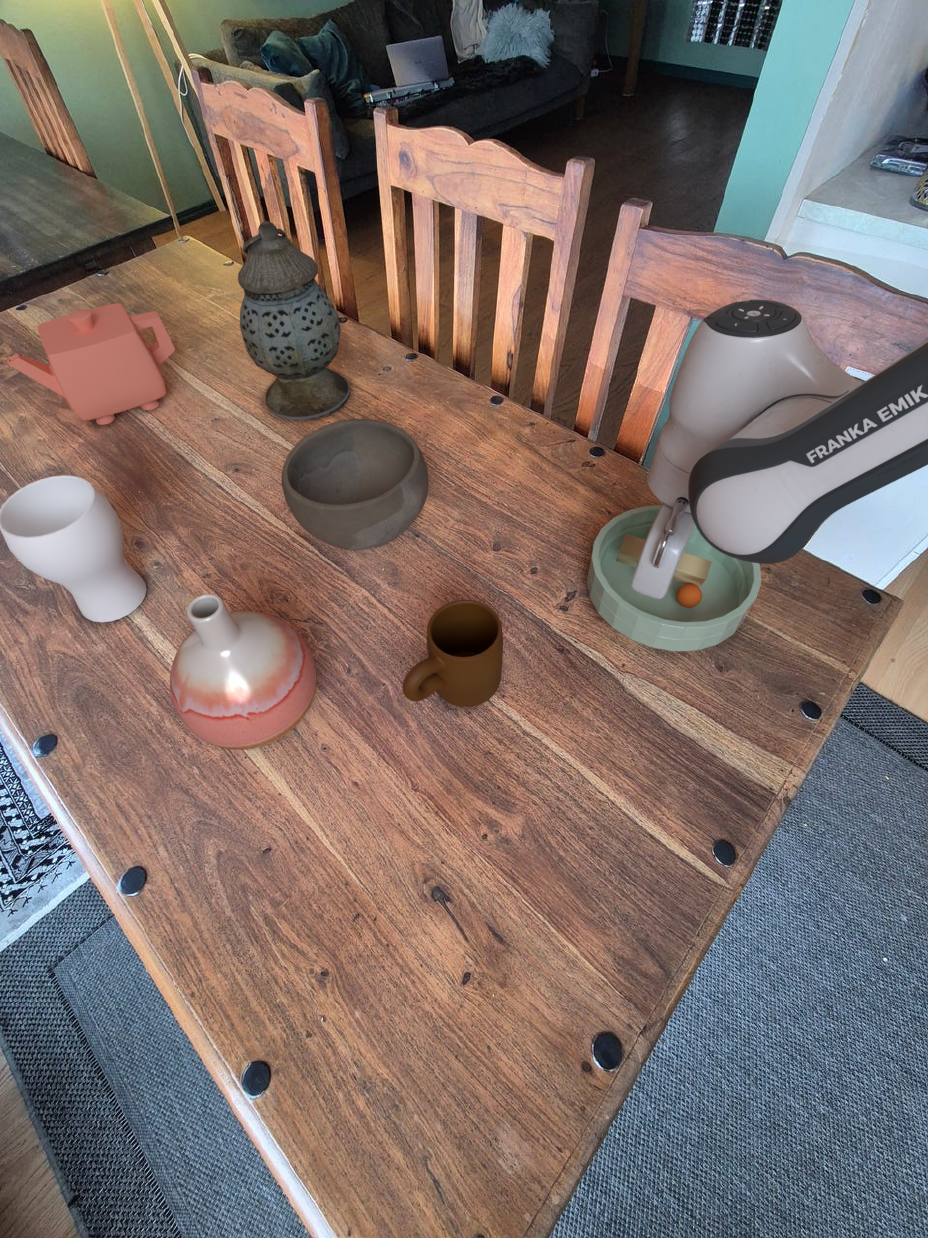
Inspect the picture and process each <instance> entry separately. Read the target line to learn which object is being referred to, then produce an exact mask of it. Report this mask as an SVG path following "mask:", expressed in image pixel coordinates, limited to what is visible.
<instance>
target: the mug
mask: <svg viewBox="0 0 928 1238" xmlns="http://www.w3.org/2000/svg"><path fill="white" fill-rule="evenodd" d="M503 634H504V633H503V625H502V621H501V618H500V617H499V616H498V614H497V613H496V612H495V611H494V609H492V608H491V607H490V606H489V605H487V604H485V603H483V602H480V601H478V600H473V599H457V600H452V601H450V602H447V603H445V604H443V605H442V606H440V607H438V608H437V610H435V611H434V613H433V614H432V615H431V616H430V618H429V620H428V623H427V627H426V648H427V656H428V657H426V658H424V659H422V660H420V661H418V662H417V663H416V664H414V665H413V666H412V667H411V668H410V669H409V671H408V672H407V673H406V675H405V676H404V679H403V682H402V685H401V687H402V689H401V690H402V694H403V696H404V697H405V698H406V699H407V700H408V701H411V702H421V701H423V700H426V699H427V698H429V697H430V696H432V695H433V694H434V693H437V695H438V697H440V698H441V699H442V700H443V701H445V702H446V703H448V704H450V705H453V706H456V707H460V708H471V707H476V706H477V707H478V706H480V705H482V704H484V703H486V702H488V701H489V700H490V699H491V698H492V697H493V696H494V695H495V694H496V693H497V691H498V689H499V687H500V684H501V680H502V672H503V656H504V654H503V653H504V635H503Z"/></svg>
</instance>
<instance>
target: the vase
mask: <svg viewBox="0 0 928 1238" xmlns="http://www.w3.org/2000/svg"><path fill="white" fill-rule="evenodd" d="M186 615H187V618H188V619H189V622H190V624H191V625H192V627H193V630H192V631H191V632H190V633H189V634H188V635H187V636H186V638H185V639H184V640H183V642H182V643H181V644H180V646H179V648H178V650H176V651H177V652H176V653H175V655H174V658H173V661H172V664H171V667H170V673H169V691H170V696H171V700H172V704H173V706H174V709H175V710H176V714H177V716H178V717H179V719H180V721H181V722H182V723H183V724H184V726H185V727H186V728H187V729H188V730H189V731H190V732H191V733H192V734H193V735H194V736H195V737H196V738H198V739H200V740H201V741H203V742H205V743H206V744H209V745H211V746H214V747H216V748H220V749H225V750H232V751H245V750H254V749H258V748H262V747H265V746H267V745H270V744H273V743H274V742H277V741H278V740H280V739H282V738H284V737H285V736H286V735H287V734H289V733H291V732H292V731H293V730H294V729H295V728H296V727H297V726H298V725H299V724H300V723H301V721H302V720H303V719H304V718H305V716H306V715H307V713H308V711H309V709H310V708H311V706H312V703H313V701H314V698H315V694H316V690H317V684H318V673H317V667H316V662H315V658H314V656H313V653H312V650H311V649H310V647H309V645H308V644H307V642H306V640H305V638H303V637H302V636H301V635H300V633H299V632H297V630H296V629H295V628H293V626H291V625H290V624H288V623H287V622H285V621H284V620H282V619H280V618H278V617H276V616H274V615H271V614H268V613H264V612H260V611H254V610H236V611H230V610H229V609H228V607H227V605H226V603H225V601H224V600H223V599H222V597H220V596H219V595H217V594H215V593H203V594H200V595H197V596H196V597H194V598H193V599H192V600H190V602H189V604H188V605H187V608H186Z"/></svg>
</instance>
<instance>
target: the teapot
mask: <svg viewBox="0 0 928 1238" xmlns="http://www.w3.org/2000/svg"><path fill="white" fill-rule="evenodd" d="M150 327H151V330H152V332H153V335H154V337H155V341H154V342H153V343H151V344H150V345H149V346H148V344H147V342H146V340H145V338H144V337H143V335H142V333H141V332H140V331H142V330H144V329H147V328H150ZM37 332H38V335H39V338H40V341H41V344H42V347H43V349H44V352H45V355H46V358H47V360H48V363H49V365H48V364H46V363H43V362H40V361H38V360H35V359H33V358H30V357H27V356H24V355H22V354H19V352H16V353H14V354H12V355H11V356H9V357H7V358H6V359H5V360H6V363H7V365H8V366H10V367H11V368H13V369H15V370H16V371H18V372H20V373H22V374H23V375H25V376H27V377H28V378H30V379H32V380H34V381H35V382H36V383H39V384H40V385H42V386H44V387H45V388H47V389H49V390H50V391H53V392H54V393H56V394H58V395H59V396H61V397H64V398H65V400H66V402H67V404H68V406H69V407H70V409H71V410H72V412H74V414H75V415H76V416H77V417H78V418H79V419H80V420H81V421H82V422H86V421H88V422H89V421H92V420H93V421H94V420H95V422H96V424H97V425H100V426H103V425H108V424H111V423H112V422H114V421H115V419H116V415H115V414H118V413H121V412H125V411H128V410H131V409H134V408H138V407H140V408H141V409H142V410H143V411H153V410H155V409H157V408H158V407H159V405H160V401H159V399H161V398H163V397H165V396H167V395H168V393H167V387H166V382H165V379H164V376H163V374H162V372H161V370H160V367H159V366H160V365H162V364H163V362H165V361H166V360H167V359H168V358H169V357H170V356H171V355H172V354H173V353H174V352H175V351H176V348H175V346H174V344H173V342H172V340H171V338H170V336H169V333H168V332H167V330H166V327H165V326H164V323H163V322H162V319H161V318H160V315H159V313H158V312H157V310H153V311H149V312H144V313H139V314H133V315H130V314H129V313H128V311H127V310H126V308H125V306H124V305H123V304H122V303H120V302H118V303H111V304H107V305H101V306H97V307H94V308H90V309H79V310H78V309H77V310H75V311H72V312H71V313H69V314H67V315H64V316H60V317H57V318H53V319H50V320H47V321H45V322H41V323H39V324H38V325H37Z"/></svg>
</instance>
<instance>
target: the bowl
mask: <svg viewBox="0 0 928 1238" xmlns="http://www.w3.org/2000/svg"><path fill="white" fill-rule="evenodd" d="M429 482H430V481H429V471H428V466H427V463H426V460H425V457H424V455H423V452H422V450H421V448H420V446H419V444H418V443H417V442H416V440H415V439H414V438H413V436H412V435H410V433H408V432H407V431H406V430H405V429H403V428H402V427H400V426H397V425H395V424H393V423H391V422H386V421H383V420H378V419H369V418H353V419H352V418H350V419H344V420H338V421H335V422H332V423H329V424H326V425H324V426H322V427H320V428H318V429H316V430H314V431H312V432H310V433H308V434H307V435H305V436H304V437H303V438H302V439H301V440H299V441H298V442H297V443H296V444H295V445H294V446H293V447H292V449H291V450H290V451H289V452H288V454H287V456H286V457H285V459H284V462H283V465H282V470H281V487H282V491H283V496H284V499H285V502H286V505H287V507H288V509H289V510H290V512H291V515H292V516H293V517H294V518H295V520H296V522H297V523H298V524H299V525H300V527H302V528H303V530H305V532H307V533H308V534H310V535H311V536H313V537H314V538H316V539H318V540H320V541H321V542H323V543H326V544H327V545H329V546H331V547H332V546H333V547H336V548H338V549H343V550H347V551H364V550H370V549H375V548H379V547H383V546H384V545H387V544H389V543H391V542H392V541H394V540H395V539H396V538H397V537H399V536H400V535H402V534H403V533H404V532H405V531H406V530H407V529H408V528H409V527H410V526H411V525H412V524H413V523H414V522H415V520H416V519H417V518H418V516H419V515H420V513H421V512H422V510H423V508H424V506H425V504H426V500H427V498H428V494H429Z"/></svg>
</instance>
